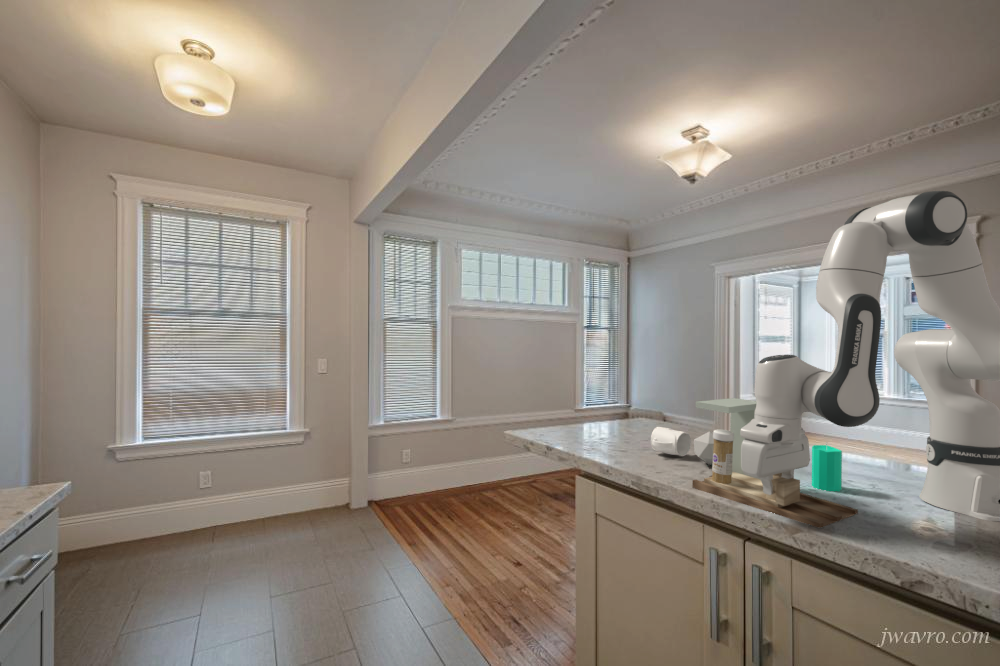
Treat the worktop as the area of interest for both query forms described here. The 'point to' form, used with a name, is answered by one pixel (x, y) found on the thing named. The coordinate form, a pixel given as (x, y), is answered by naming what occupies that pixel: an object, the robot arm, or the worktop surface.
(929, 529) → the worktop surface
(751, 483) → the wooden slider block
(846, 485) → the worktop surface
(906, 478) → the worktop surface
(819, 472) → the candle
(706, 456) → the die
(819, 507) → the lane board
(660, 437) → the mug
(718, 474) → the sprinkles bottle
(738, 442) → the shelf
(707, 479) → the bottle strip
